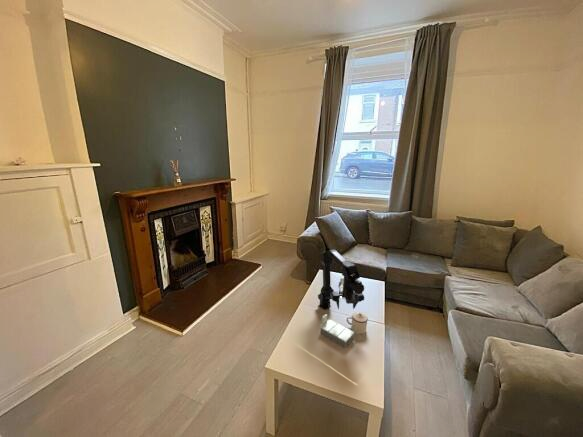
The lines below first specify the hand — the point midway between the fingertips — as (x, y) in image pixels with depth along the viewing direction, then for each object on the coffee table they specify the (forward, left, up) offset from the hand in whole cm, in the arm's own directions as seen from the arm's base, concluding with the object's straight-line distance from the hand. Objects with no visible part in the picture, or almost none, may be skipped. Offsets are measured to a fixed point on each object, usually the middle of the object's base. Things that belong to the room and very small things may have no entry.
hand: (345, 308), depth 147 cm
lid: (0, -10, -9) cm, 14 cm away
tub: (+1, -10, -13) cm, 17 cm away
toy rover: (-20, +39, -14) cm, 46 cm away
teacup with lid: (+6, +4, -13) cm, 15 cm away
